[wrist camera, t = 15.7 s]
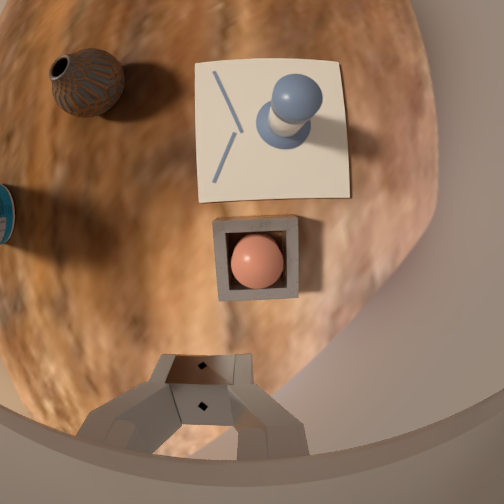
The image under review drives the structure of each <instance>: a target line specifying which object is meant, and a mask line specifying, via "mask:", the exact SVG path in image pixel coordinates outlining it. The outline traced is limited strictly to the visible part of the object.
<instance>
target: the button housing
mask: <svg viewBox="0 0 504 504" xmlns="http://www.w3.org/2000/svg"><path fill="white" fill-rule="evenodd" d="M212 224H213V238H214V251H215V264H216V276H217V287H218V298H219V301H244V300H267V299H285V298H298V290H299V251H298V217H296V216H294V215H293V214H287V215H261V216H240V217H221V218H216V219H215V220H214V221H213V222H212ZM258 231H282V234H283V277H279V278H278V279H277V281H275V282H274V283H273V284H272V285H270V286H268V287H265V288H261V289H253V288H249V287H246V286H244V285H242V284H241V283H240V282H239V281H238V280H237V279H232V278H231V263H230V248H229V233H237V232H258Z"/></svg>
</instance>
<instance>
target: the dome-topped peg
mask: <svg viewBox="0 0 504 504" xmlns="http://www.w3.org/2000/svg"><path fill="white" fill-rule="evenodd" d="M322 102H323V95H322V91H321V89H320V87H319V85H318V84H317V83H316V82H315V81H314V80H313V79H311V78H310V77H308V76H305V75H302V74H289V75H286V76H284V77H282V78H280V79H279V80H278V81H277V83H276V84H275V86H274V89H273V93H272V97H271V107H270V111H269V115H268V120H267V123H268V127H269V129H270V131H271V132H272V133H273V134H274V135H276V136H278V137H282V138H288V137H291V136H293V135H295V134H296V133H297V132H298V131H299V129H300V128H301V127H302V126H303V125H304V124H305V123H306V122H307V121H309V120H310V119H311V118H312V117H313V116H314V115H315V114H316V112H317V111H318V110H319V109H320V107H321V105H322Z"/></svg>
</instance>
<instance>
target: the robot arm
mask: <svg viewBox="0 0 504 504" xmlns="http://www.w3.org/2000/svg"><path fill="white" fill-rule="evenodd" d="M182 424H191V425H221V426H234V427H235V429H236V430H237V432H238V433H239V434H238V449H237V450H238V451H237V460H206V459H205V460H204V459H191V458H180V457H171V456H163V455H156V454H152V453H153V452H154V451H155V450H157V449H158V448H159V447H160V446H161V445H162V444H163V443H164V442H165V441H166V440H167V439H168V438H169V437H170V436H172V435H173V434H174V433H175V432H176V431H177V430H178V429H179V428H180V427H181V426H182ZM0 504H504V389H502V390H501V391H499V392H497V393H495V394H494V395H492V396H490V397H488V398H487V399H485V400H483V401H481V402H479V403H477V404H475V405H473V406H471V407H469V408H467V409H465V410H463V411H461V412H459V413H456V414H454V415H452V416H450V417H448V418H445V419H443V420H440V421H438V422H436V423H433V424H430V425H428V426H426V427H423V428H420V429H417V430H414V431H411V432H408V433H405V434H402V435H399V436H396V437H393V438H390V439H386V440H382V441H379V442H375V443H371V444H368V445H363V446H359V447H354V448H350V449H345V450H340V451H334V452H329V453H323V454H316V455H309V450H308V445H307V440H306V435H305V430H304V425H303V423H301V422H300V421H299V420H298V419H297V418H295V417H294V416H293V415H292V414H290V413H289V412H288V411H287V410H285V409H284V408H283V407H282V406H281V405H280V404H279V403H277V402H276V401H275V400H274V399H273V398H272V397H271V396H269V395H268V394H267V393H266V392H265V391H264V390H263V389H261V388H260V387H259V386H258V385H257V384H254V376H253V362H252V354H251V353H248V354H236V355H212V356H206V355H181V354H178V355H177V354H163V355H161V357H160V359H159V361H158V363H157V365H156V367H155V369H154V371H153V373H152V375H151V377H150V379H149V381H148V382H143V383H141V384H139V385H138V386H136V387H134V388H133V389H131V390H129V391H127V392H125V393H124V394H122V395H120V396H118V397H117V398H115V399H113V400H111V401H109V402H108V403H106V404H104V405H102V406H100V407H98V408H96V409H95V410H93V411H91V412H90V413H89V414H88V416H87V418H86V419H85V421H84V423H83V424H82V426H81V428H80V429H79V431H78V433H77V434H76V436H74V435H71V434H68V433H65V432H62V431H59V430H57V429H54V428H51V427H49V426H46V425H44V424H41V423H39V422H36V421H34V420H32V419H29V418H27V417H25V416H23V415H21V414H18V413H16V412H14V411H12V410H10V409H8V408H6V407H4V406H2V405H0Z"/></svg>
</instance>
